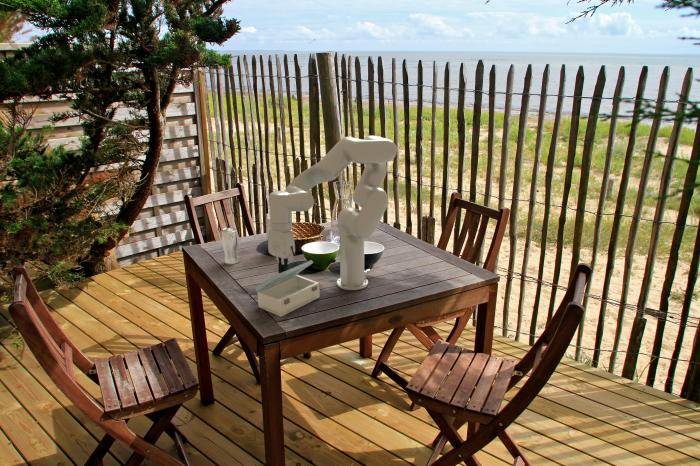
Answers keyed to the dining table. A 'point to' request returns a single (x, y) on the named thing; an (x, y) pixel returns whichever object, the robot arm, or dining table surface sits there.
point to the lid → (283, 275)
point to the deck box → (288, 295)
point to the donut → (325, 233)
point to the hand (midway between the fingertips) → (283, 272)
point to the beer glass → (230, 245)
